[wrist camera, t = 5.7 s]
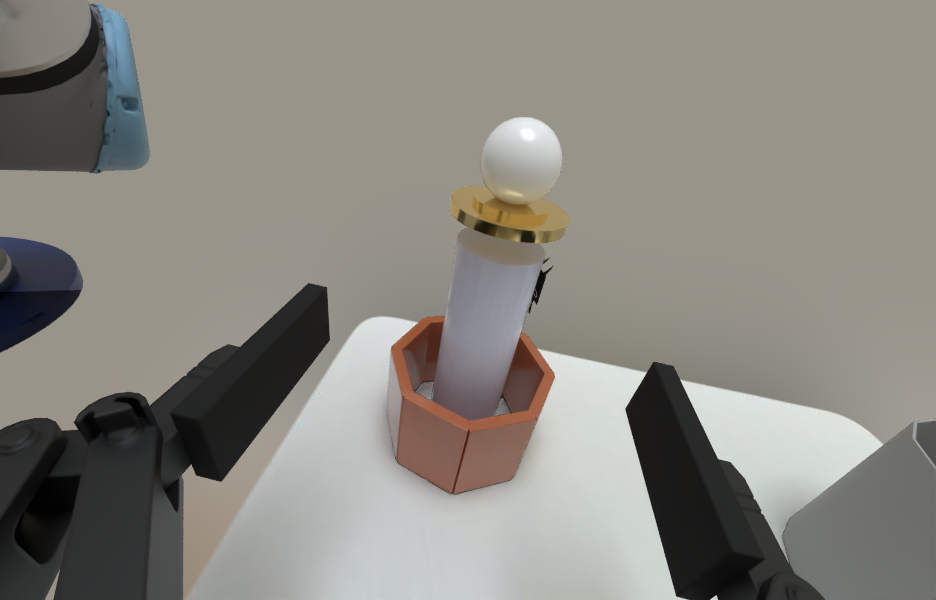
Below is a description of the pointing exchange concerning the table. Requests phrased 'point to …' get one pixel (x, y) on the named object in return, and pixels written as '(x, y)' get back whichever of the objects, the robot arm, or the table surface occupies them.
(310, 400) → the table surface
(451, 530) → the table surface
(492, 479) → the holder
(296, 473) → the table surface
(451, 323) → the perfume bottle
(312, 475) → the table surface
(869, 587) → the cup
